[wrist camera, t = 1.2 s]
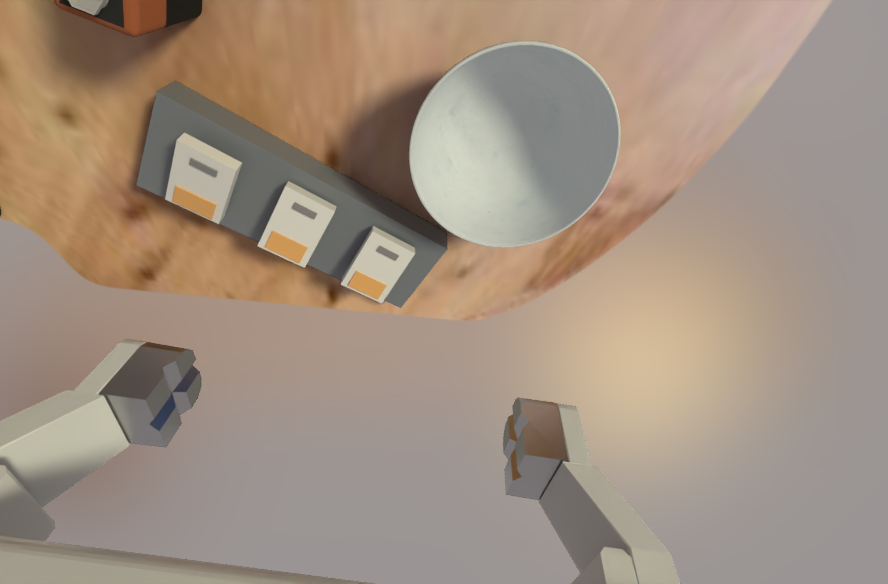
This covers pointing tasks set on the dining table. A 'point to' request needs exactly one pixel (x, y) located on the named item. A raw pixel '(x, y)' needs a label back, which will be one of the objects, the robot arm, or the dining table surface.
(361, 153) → the dining table surface
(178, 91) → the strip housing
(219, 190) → the rocker
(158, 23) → the battery
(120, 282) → the dining table surface
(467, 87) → the chinaware
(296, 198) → the rocker
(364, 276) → the block
